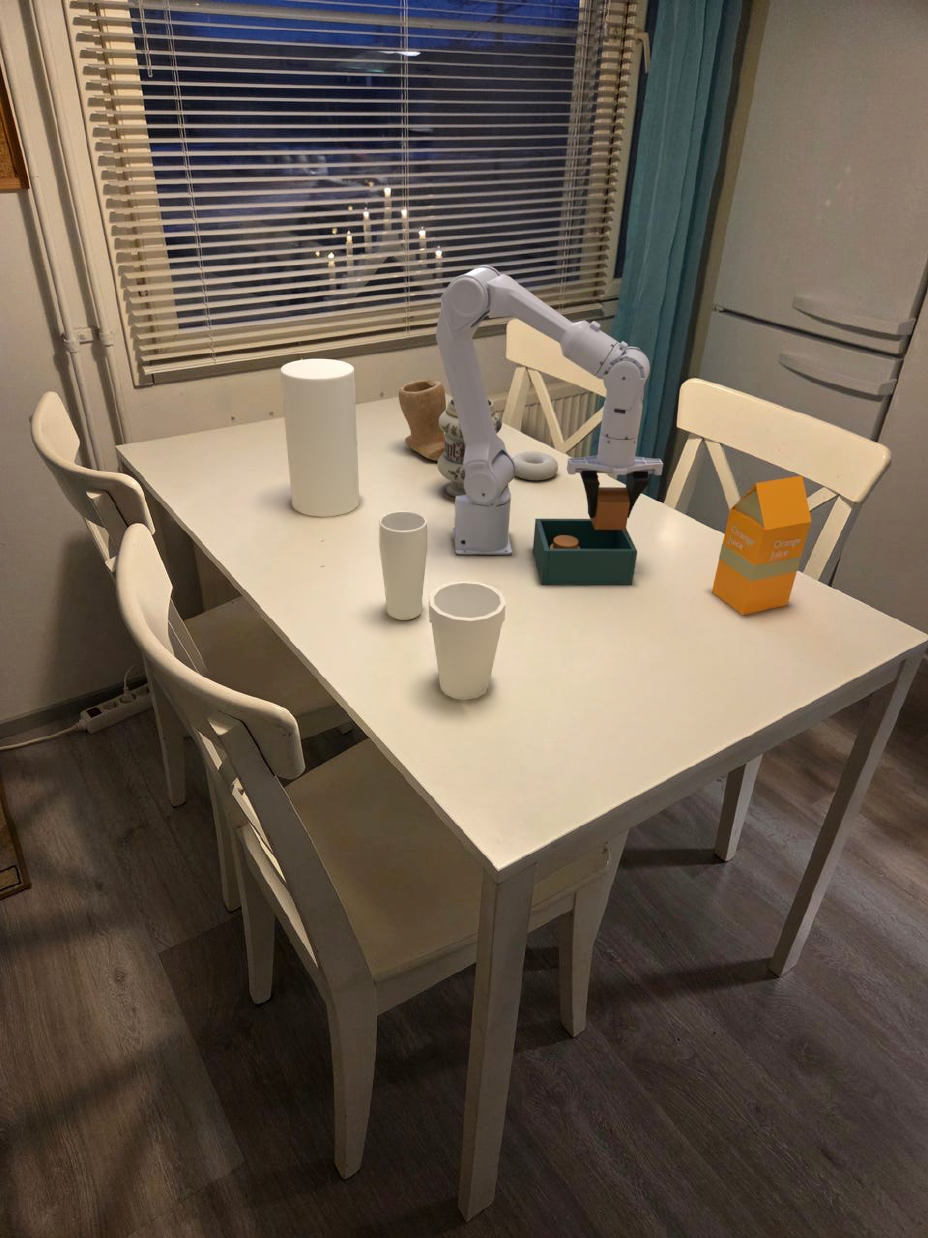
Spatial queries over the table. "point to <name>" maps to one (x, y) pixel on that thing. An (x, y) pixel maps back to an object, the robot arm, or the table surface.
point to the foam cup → (466, 635)
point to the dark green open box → (583, 554)
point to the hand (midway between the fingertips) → (608, 515)
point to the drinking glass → (403, 562)
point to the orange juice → (763, 546)
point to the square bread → (611, 508)
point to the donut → (535, 465)
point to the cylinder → (321, 436)
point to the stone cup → (424, 416)
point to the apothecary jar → (456, 449)
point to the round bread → (565, 542)
